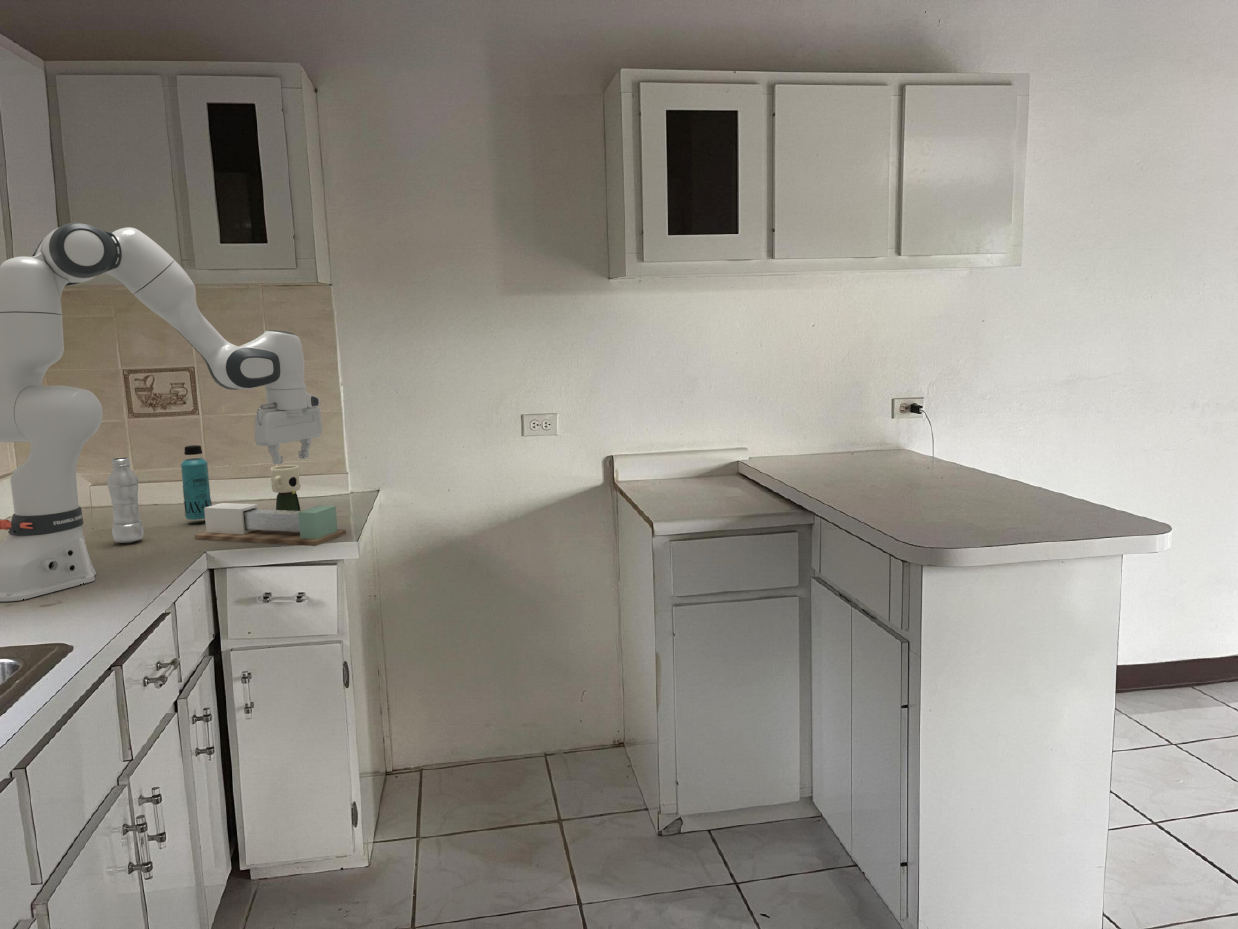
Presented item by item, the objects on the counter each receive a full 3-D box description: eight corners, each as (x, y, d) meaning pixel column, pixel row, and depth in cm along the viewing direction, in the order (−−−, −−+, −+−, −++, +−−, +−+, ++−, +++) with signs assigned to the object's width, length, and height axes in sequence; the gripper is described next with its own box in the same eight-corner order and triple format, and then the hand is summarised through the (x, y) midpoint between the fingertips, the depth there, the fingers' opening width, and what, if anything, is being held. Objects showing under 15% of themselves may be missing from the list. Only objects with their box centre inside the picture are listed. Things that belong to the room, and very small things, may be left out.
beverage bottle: (180, 524, 241) (172, 446, 238) (202, 519, 247) (194, 443, 244) (197, 526, 238) (189, 447, 235) (219, 521, 244) (212, 444, 241)
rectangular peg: (245, 529, 224) (243, 512, 223) (256, 525, 228) (254, 509, 227) (315, 532, 218) (314, 515, 217) (325, 528, 222) (324, 512, 221)
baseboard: (194, 539, 224) (194, 535, 224) (229, 528, 235) (229, 524, 235) (316, 545, 214) (315, 541, 214) (346, 533, 225) (345, 529, 225)
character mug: (291, 520, 243) (287, 470, 241) (265, 520, 244) (261, 470, 242) (310, 511, 253) (306, 463, 251) (285, 511, 254) (281, 463, 252)
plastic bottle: (106, 545, 220) (97, 460, 217) (131, 538, 227) (122, 455, 223) (127, 546, 218) (117, 461, 215) (151, 540, 224) (142, 456, 221)
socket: (300, 538, 217) (298, 512, 216) (321, 530, 225) (319, 505, 224) (317, 539, 216) (315, 512, 215) (337, 531, 223) (335, 506, 222)
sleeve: (206, 532, 226) (204, 507, 225) (223, 526, 232) (221, 502, 231) (243, 534, 223) (241, 509, 222) (260, 528, 229) (257, 504, 228)
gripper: (268, 404, 206) (273, 467, 208) (324, 398, 226) (328, 455, 228) (244, 404, 208) (249, 467, 210) (302, 398, 228) (306, 455, 229)
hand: (291, 461), depth 219 cm, fingers open, 8 cm apart
